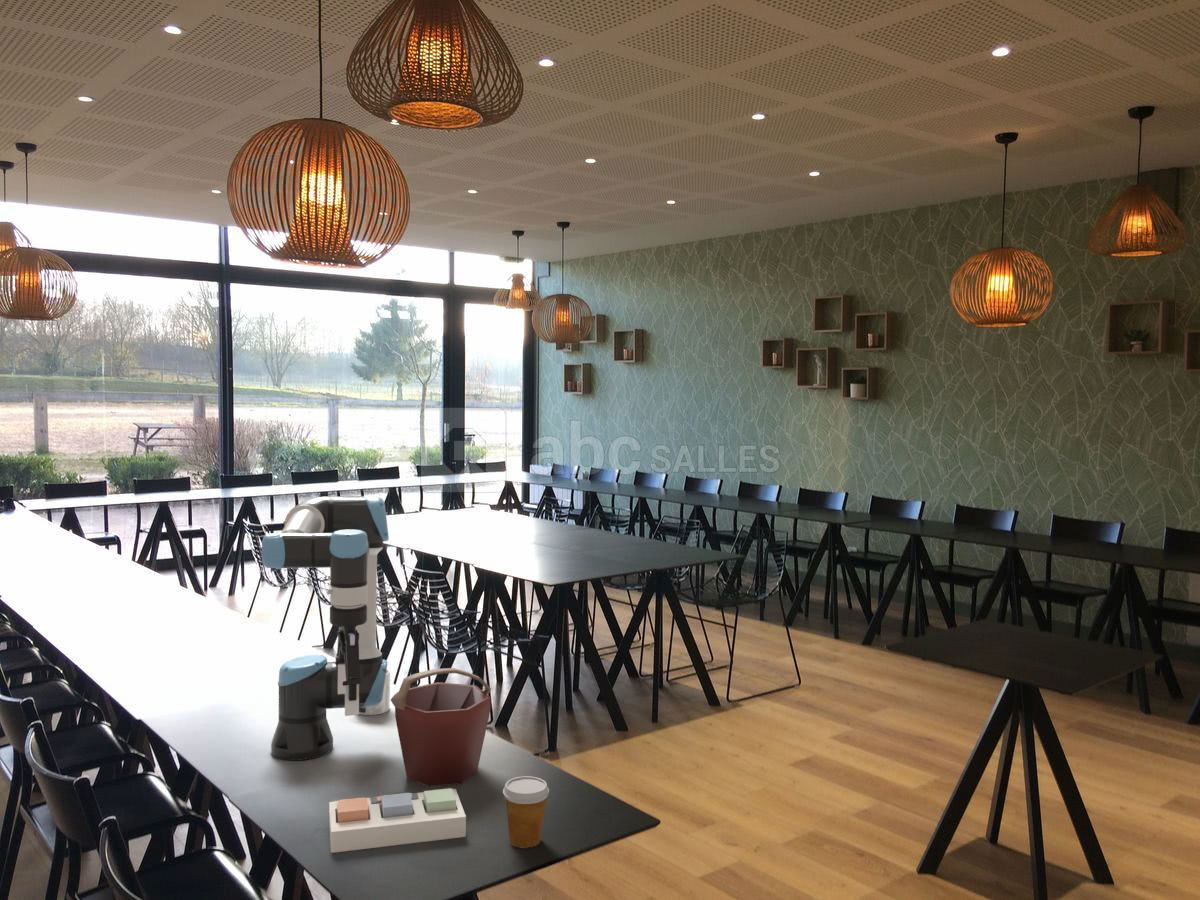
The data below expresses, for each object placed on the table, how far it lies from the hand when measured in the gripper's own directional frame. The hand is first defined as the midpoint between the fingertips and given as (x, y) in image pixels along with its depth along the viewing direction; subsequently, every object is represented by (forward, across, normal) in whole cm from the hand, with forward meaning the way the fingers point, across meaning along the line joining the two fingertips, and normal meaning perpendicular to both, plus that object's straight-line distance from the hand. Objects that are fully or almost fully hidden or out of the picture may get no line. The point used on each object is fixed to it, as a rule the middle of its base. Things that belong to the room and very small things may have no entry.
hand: (347, 703), depth 198 cm
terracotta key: (+22, +5, +1) cm, 23 cm away
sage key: (+22, +6, +19) cm, 30 cm away
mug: (+27, -69, +15) cm, 76 cm away
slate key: (+22, +5, +10) cm, 25 cm away
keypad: (+26, +6, +10) cm, 28 cm away
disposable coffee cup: (+26, +19, +34) cm, 47 cm away
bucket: (+27, -22, +24) cm, 42 cm away
